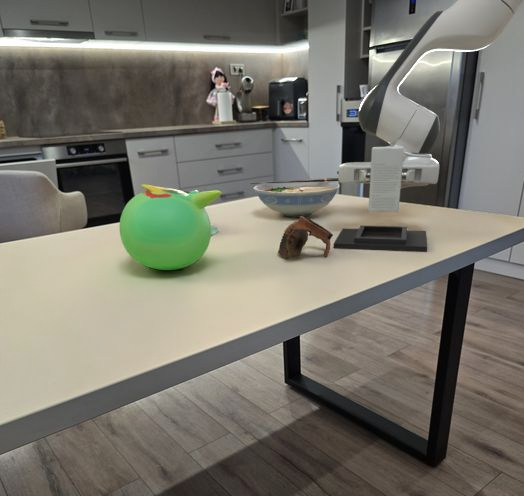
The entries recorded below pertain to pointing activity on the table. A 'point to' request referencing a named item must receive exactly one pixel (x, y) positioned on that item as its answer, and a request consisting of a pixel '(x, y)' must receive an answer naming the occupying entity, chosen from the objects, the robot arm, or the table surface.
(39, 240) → the table surface
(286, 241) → the brown arched part
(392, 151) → the cosmetic box
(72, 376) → the table surface
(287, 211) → the ramen bowl
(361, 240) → the dock pad
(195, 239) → the toy bird
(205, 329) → the table surface
